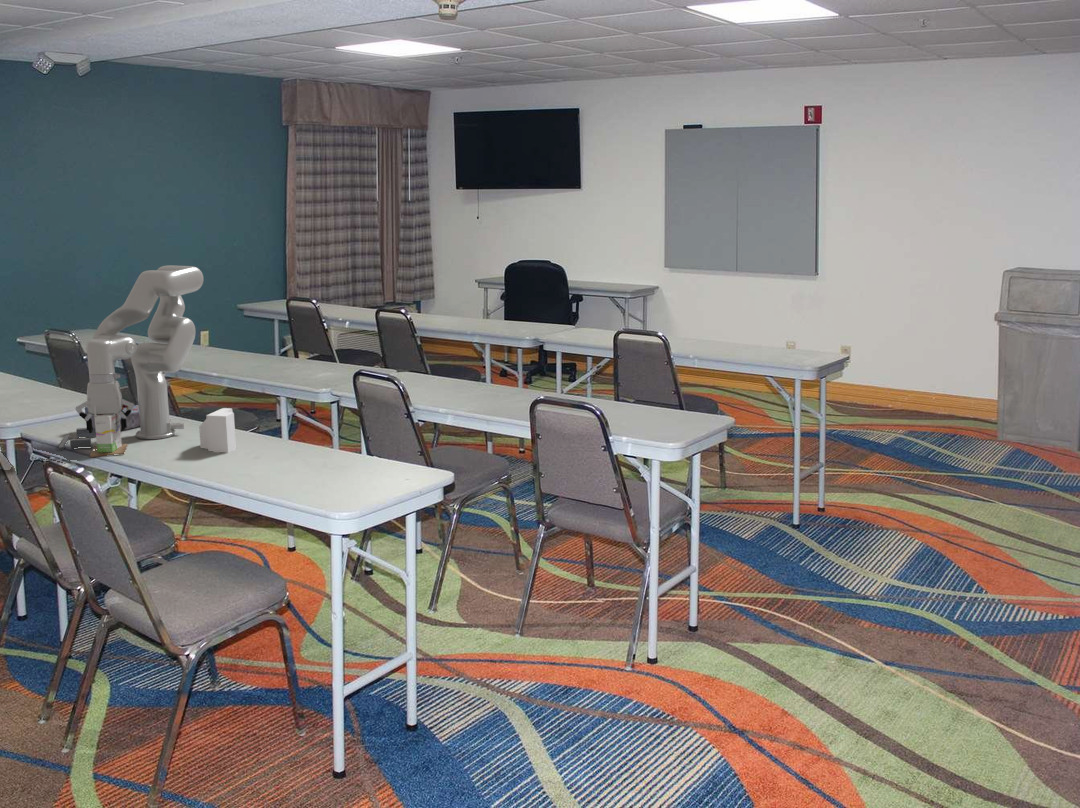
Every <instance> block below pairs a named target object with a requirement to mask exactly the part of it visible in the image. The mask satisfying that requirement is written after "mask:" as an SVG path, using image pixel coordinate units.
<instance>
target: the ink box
mask: <svg viewBox="0 0 1080 808" xmlns="http://www.w3.org/2000/svg"><path fill="white" fill-rule="evenodd" d="M94 415H95V417H94V418H95V430H96V437H95V438H96V439H95V440H96V446H97V452H113V451H115V450H116V449H118V448H119V447H121V446H122V444H123V443H122V435H121V432H122V430H120V419H119V414H118V413H116V414H100V415H97V414H96V406H95V407H94Z"/></svg>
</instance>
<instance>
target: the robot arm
mask: <svg viewBox="0 0 1080 808" xmlns="http://www.w3.org/2000/svg"><path fill="white" fill-rule="evenodd" d="M203 284H204V274H203V272H202V270H200V269H199V267H197V266H192V265H174V264H173V265H170V264H169V265H163V266H160V267H158V268H157V269H156V270H155V269H154V270H153V269H151V270H144V271H142V272H141V273H139V275H138V277H137V279H136V280H135V283H134V284H133V286H132V288H131V290H130V292H129V294H128V296H127V297H126V300H125V302H124V303H123V304H122V305H121V306H120V307H118V308H117V309H116V310H114V311H112V313H110V314H109V315H108V316H106V317H105V318H104V319H103V320H102V321H101V322H100V324H99V325H98V327H97V328H96V330H95V333H94V334H93V337H92V339H90V340H88V341H87V342H86V354H87V357H86V358H87V365H88V375H89V377H88V378H89V381H88V382H87V389H86V401H84V402H82V403H80V404H78V405H77V406H76V407H75V408H74V409H75V410H76V412H77V414H78V416H80V417H81V418H82V419H83V420H84V421H85V425H86V428H87V430H89V433H92V431H93V428H92V419H91V416H92V415H94V407H95V406H96V414H97V415H100V414H116V413H118V414H119V415H120V416H121V429H122V430H121V432H125V431H126V430H125V428H127V423H126V417H127V416H128V415H129V414H130V413H131V411H132V409H133V407H134V406H135V403H133V402H131V401H128V400H126V399H123V396H122V390H121V385H120V383H119V380H117V379H121V374H120V373H116V369H115V361H117V360H118V361H119V360H128V359H130V360H131V364H132V367H133V370H134V371H133V372H134V375H135V383H136V391H137V392H136V393H137V403H138V404H137V405H138V406H139V418H140V426H139V427H140V430H138V431H137V432H136V433H135V437H136V438H137V439H142V440H157V439H158V440H159V439H166V438H170V437H172V436H175V435H176V430H184V429H185V423H183V422H182V423H181V422H172V419H170V407H169V396H168V395H169V394H168V383H167V379H166V377H165V375H164V373H167V374H170V373H171V374H172V373H173V374H174V373H177V372H179V370H181V368H183V366H184V364H185V362H186V359H187V357H188V356H189V353H190V350H191V348H192V346H193V344H194V341H195V339H196V326H195V324H194V323H195V322H193V320H192V319H190V318H188V317H186V316H184V313H185V310H186V305H185V302H184V299H183V297H182V296H184V295H186V294H191V293H194V292H197V291H199V290H200V289H201V287H202V286H203ZM158 300H159V302H158V306H157V309H156V311H155V313H154V314H153V316H152V318H151V321H150V323H149V326H148V329H147V336H148V339H149V340H150V341H152V342H141V343H138V344H137V342H136V341H135V339H133V338H132V337H130V336H127V335H118V334H119V333H120V332H121V331H122V330H124V329H127V328H128V327H131V326H133V325H136V324H138V323H141V322H143V321H146V319H148V318H149V317H150V315H151V313H152V311H153V309H154V307H155V305H156V303H157V301H158ZM123 404H124V405H126V406H128V407H129V408H128V410H127V411H126V412H124V411H123V410H122V409H123ZM86 406H87V409H88V414H87V415H86V414H85V411H83V410H82V409H83V408H84V409H85V407H86Z"/></svg>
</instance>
